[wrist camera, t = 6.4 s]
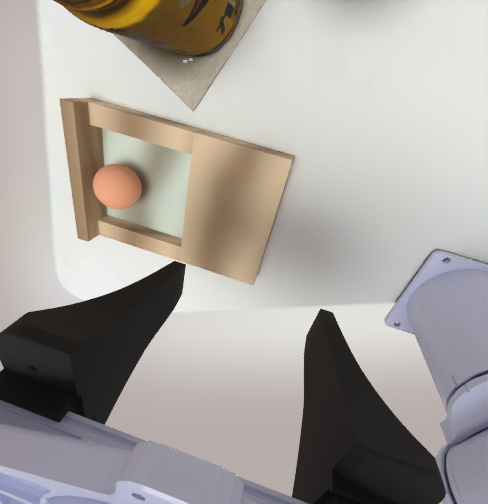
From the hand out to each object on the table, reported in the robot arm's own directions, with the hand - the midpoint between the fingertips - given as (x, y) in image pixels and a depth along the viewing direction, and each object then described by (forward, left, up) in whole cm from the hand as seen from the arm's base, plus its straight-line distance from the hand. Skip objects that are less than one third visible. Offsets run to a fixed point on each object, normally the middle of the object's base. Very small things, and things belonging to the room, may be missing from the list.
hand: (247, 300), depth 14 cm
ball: (+13, 0, -8) cm, 15 cm away
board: (+8, 0, -10) cm, 13 cm away
